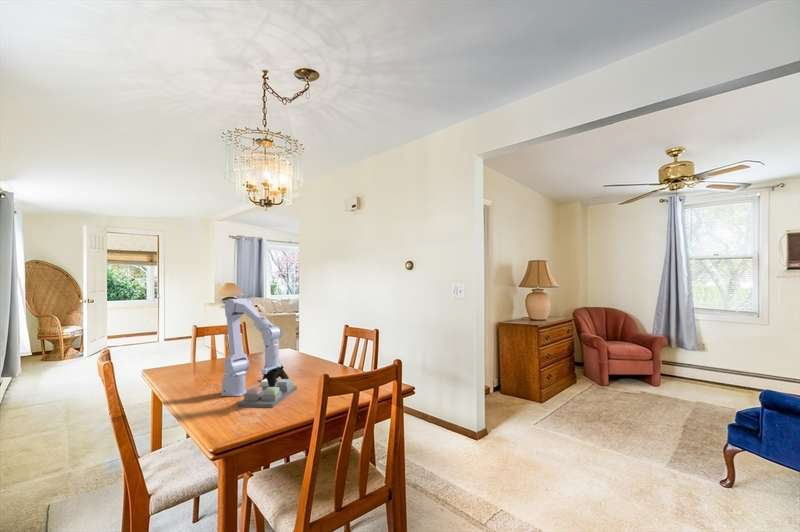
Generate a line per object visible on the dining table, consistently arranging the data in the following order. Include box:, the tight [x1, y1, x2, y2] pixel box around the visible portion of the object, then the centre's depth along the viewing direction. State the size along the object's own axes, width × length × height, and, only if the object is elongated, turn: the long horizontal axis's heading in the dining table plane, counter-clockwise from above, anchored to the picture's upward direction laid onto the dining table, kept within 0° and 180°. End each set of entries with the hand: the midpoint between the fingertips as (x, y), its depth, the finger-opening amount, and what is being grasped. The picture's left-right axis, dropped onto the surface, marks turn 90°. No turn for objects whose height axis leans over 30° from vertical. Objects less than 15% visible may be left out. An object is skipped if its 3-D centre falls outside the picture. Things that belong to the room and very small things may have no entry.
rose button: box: [246, 385, 262, 395], centre depth 160 cm, size 5×5×2 cm
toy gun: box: [262, 363, 290, 380], centre depth 191 cm, size 2×13×10 cm
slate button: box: [276, 378, 292, 387], centre depth 171 cm, size 5×5×2 cm
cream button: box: [260, 379, 269, 386], centre depth 172 cm, size 5×5×2 cm
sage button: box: [264, 387, 279, 395], centre depth 159 cm, size 5×5×2 cm
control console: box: [238, 382, 298, 408], centre depth 165 cm, size 15×25×4 cm, turn 173°
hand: (271, 386), depth 159 cm, fingers closed
